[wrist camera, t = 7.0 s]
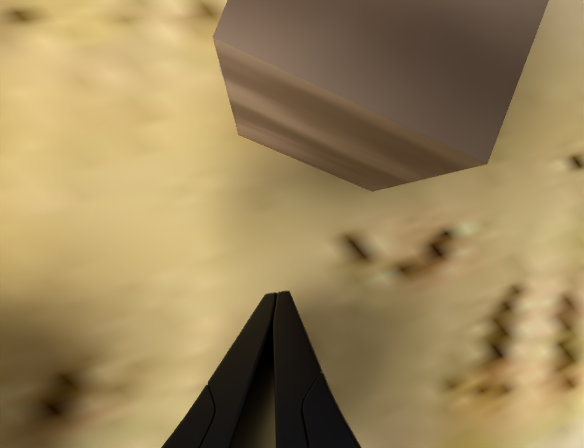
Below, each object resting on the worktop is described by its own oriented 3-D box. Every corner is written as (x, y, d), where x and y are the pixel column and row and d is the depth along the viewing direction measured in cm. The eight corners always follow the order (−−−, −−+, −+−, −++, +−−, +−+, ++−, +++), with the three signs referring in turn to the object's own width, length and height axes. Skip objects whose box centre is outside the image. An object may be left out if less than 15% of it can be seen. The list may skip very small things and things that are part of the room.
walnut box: (371, 191, 19) (487, 164, 10) (238, 135, 18) (212, 37, 8) (450, -14, 20) (641, -246, 10) (324, -81, 19) (397, -421, 9)
